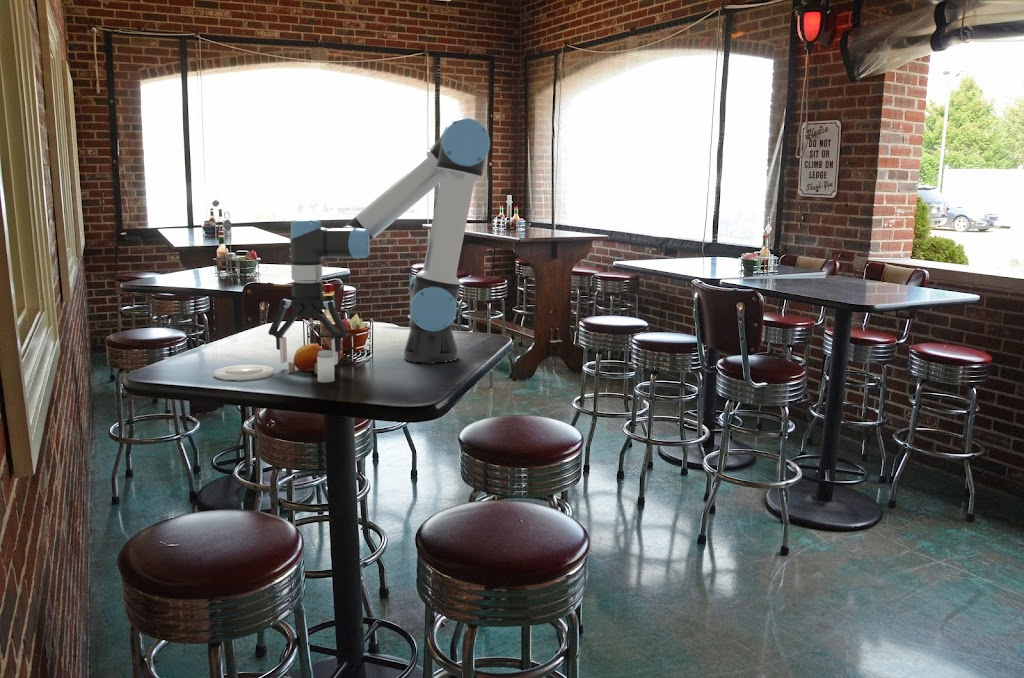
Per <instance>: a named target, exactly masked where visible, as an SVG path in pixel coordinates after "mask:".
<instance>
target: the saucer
mask: <svg viewBox="0 0 1024 678" xmlns="http://www.w3.org/2000/svg"><path fill="white" fill-rule="evenodd" d="M273 375H274V368H273V367H271V366H269V365H263V364H262V365H261V364H236V365H230V366H224V367H220V368H217V369H215V370H214V378H215V377H216V378H215V379H217V378H218V380H221V379H222V381H229V380H236V381H235V382H243V381H254V380H255V381H256V380H260V379H265V378H270V377H271V376H273Z"/></svg>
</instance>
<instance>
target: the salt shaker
mask: <svg viewBox="0 0 1024 678" xmlns="http://www.w3.org/2000/svg"><path fill="white" fill-rule="evenodd" d="M317 372H318V374H317V382H319V383H332V382H334V381H335V365H334V356H333V351H332V350H327V349H325V350H324V349H323V350H322V351H318V356H317Z"/></svg>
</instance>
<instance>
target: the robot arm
mask: <svg viewBox="0 0 1024 678" xmlns="http://www.w3.org/2000/svg"><path fill="white" fill-rule="evenodd" d="M490 148H491V138H490V135H489V131H488V130H487V128H486V127H485V126H484V125H483V124H482V123H481V122H480V121H478V120H476V119H474V118H472V117H471V118H469V117H459V118H456V119H454V120H452V121H450V122H449V123H448V124H447V125H446V127H445V129H444V131H442V135H441V136H440V138H438V140H437V141H436V142H435V143H434V144H433V145H431V147H429V148H428V149H427V151H426V155H425V157H424V158H423V159H421V160H420V161H419V162H417V164H415V166H413V167H412V168H411V169H409V170H408V171H407V172H406V173H405V174H403V175H402V176H401V177H400V178H398V180H396V181H395V182H394V183H393V184H392V185H391V186H389V187H388V188H387V189H386V190H385V191H384V192H383V193H381V194H380V195H379V196H378V197H377V198H375V200H373V201H372V202H370V204H368V206H366V207H365V208H364V209H362V211H360V212H359V213H358V214H357V215H355V217H353V218H352V219H351V220H349V221H348V222H347V223H346V224H344V226H342V227H331V228H330V227H323V226H322V222H321V221H320V220H319V219H294V220H292V222H291V223H290V237H289V239H290V240H289V241H290V242H289V243H290V258H291V259H290V260H291V280H292V282H291V293H292V297H291V298H292V299H291V300H290V299H288V298H283V299H280V300H279V307H278V310H277V312H276V315H275V317H274V319H273V321H272V323H271V325H270V328H269V330H268V333H267V334H268V335H270V336H273V337H275V345H276V346H275V347H276V350H278V351H279V357H280V358H279V360H280V361H279V362H280V364H285V363H286V362H288V351H287V350H288V349H287V336H284V335H285V334H286V332H287V331H288V330H289V329H290V327H291V326H292V325H293V324H294V323H295V322H296V320H297V319H298V318H301V319H302V318H303V319H305V318H309V319H313V318H316V319H317V320H318V321H319V322H320V323H321V324H322V325H323V327H324V328H325V329H326V330H327V331H328V333H329V334H330V335H331V336H332V337H333V339H331V340H330V341H331V351H333V356H334V366H336V365H338V363H339V353H340V352H341V351H342V339H344V338H346V337H348V335H349V332H348V330H347V327H346V325H345V324H344V322H343V320H342V316H340V314H339V311H338V310H337V305H336V300H334V299H331V300H328V301H327V300H326V301H324V299H323V297H324V296H323V293H324V292H323V282H322V279H323V262H322V261H323V260H322V259H323V258H326V259H327V258H329V259H330V258H335V259H366V258H368V257H370V251H371V250H370V247H371V246H370V245H371V244H370V243H371V242H372V241H373V240H374V239H375V238H376V237H377V236H379V235H380V234H381V233H382V232H384V230H386V229H387V228H389V226H390V225H392V224H393V223H394V222H395V221H396V220H398V219H399V217H402V215H403V214H405V213H406V212H407V211H408V210H410V209H411V208H412V207H413V206H414V205H416V204H417V202H419V201H420V200H421V199H423V198H424V197H425V196H426V195H428V193H430V191H432V190H434V188H436V187H437V186H438V185H439V186H438V190H437V191H438V192H437V195H436V200H435V201H436V202H435V207H434V211H433V216H432V221H431V227H430V232H429V237H428V241H427V249H426V251H425V252H426V253H425V254H426V255H425V260H424V264H423V268H422V269H421V270H419V272H417V273H416V274H415V276H412V277H411V278H410V280H409V287H408V288H409V325H410V327H409V335H408V336H407V337H408V338H407V340H406V343H405V346H404V349H403V359H404V360H405V359H406V360H405V361H407V360H408V361H407V362H411V361H412V362H411V363H416V362H421V363H420V364H437V363H436V362H445V361H450V360H454V359H456V358H458V359H459V349H458V346H457V345H458V344H457V342H456V338H455V336H454V333H453V321H455V318H456V316H457V311H458V308H457V307H458V306H457V302H458V298H459V292H460V287H461V281H460V280H459V278H458V277H457V273H458V268H459V262H460V256H461V252H462V246H463V242H464V236H465V234H466V233H465V232H466V228H467V222H468V217H469V212H470V207H471V201H472V196H473V193H474V186H475V183H476V182H477V181H480V179H482V176H483V172H484V168H485V163H486V159H487V158H486V157H487V156H488V154H489V152H490ZM290 306H291V308H292V309H293V311H292V313H291V314H290V316H289V317H288V319H287V320H286V321H285V322H284V323H283V325H282V326H281V327H280V325H281V323H282V321H283V319H284V317H285V314H286V313H287V310H288V309H289V308H290ZM324 307H325V309H326V310H327V311H328V313H329V314H330V317H331V318H332V321H333V322H334V324H335V325H334V324H333V323H332V322H331V320H330V319H329V318H328V316H327V315H326V313H325V312H324V311H323V309H324ZM279 327H280V328H279ZM430 362H431V363H430ZM432 362H433V363H432ZM445 363H446V362H445Z"/></svg>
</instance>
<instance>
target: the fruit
mask: <svg viewBox="0 0 1024 678" xmlns="http://www.w3.org/2000/svg"><path fill="white" fill-rule="evenodd" d="M322 350H324V348H323V347H322V346H320V345H319V344H318V343H306V344H305V345H303V346H301V347H299V348H298V349H296V350H295V353H294V356H293V361H292V362H295V368H297V369H298V370H299V371H300V372H303V373H304V372H305V373H306V372H315V363H317V356H318V351H322Z"/></svg>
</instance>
